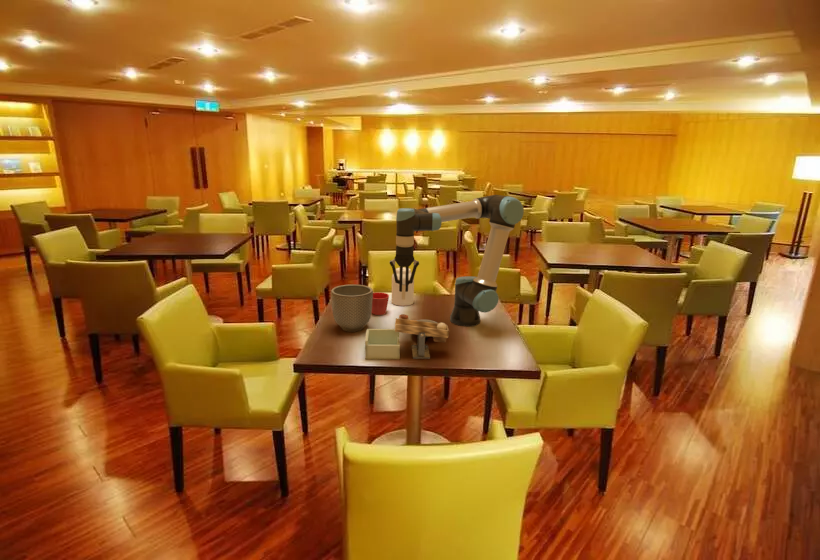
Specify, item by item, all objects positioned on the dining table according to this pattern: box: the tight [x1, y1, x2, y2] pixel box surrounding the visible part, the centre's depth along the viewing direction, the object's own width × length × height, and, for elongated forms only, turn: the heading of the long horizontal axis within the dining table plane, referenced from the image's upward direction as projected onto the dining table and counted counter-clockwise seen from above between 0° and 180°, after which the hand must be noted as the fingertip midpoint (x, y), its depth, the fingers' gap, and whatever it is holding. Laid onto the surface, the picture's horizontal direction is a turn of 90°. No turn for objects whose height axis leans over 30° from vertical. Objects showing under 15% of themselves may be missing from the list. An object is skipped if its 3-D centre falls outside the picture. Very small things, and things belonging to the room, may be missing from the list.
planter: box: [330, 284, 374, 333], centre depth 214 cm, size 20×20×19 cm
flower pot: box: [371, 292, 390, 316], centre depth 237 cm, size 11×11×10 cm
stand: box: [411, 332, 431, 360], centre depth 190 cm, size 7×12×11 cm, turn 2°
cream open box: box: [364, 328, 401, 360], centre depth 189 cm, size 14×13×8 cm
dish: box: [415, 319, 438, 338], centre depth 208 cm, size 18×14×5 cm
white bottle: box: [391, 267, 415, 307], centre depth 253 cm, size 12×12×20 cm
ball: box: [437, 322, 446, 330], centre depth 188 cm, size 4×4×4 cm
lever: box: [394, 313, 450, 344], centre depth 194 cm, size 22×18×6 cm
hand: (403, 298), depth 197 cm, fingers closed
